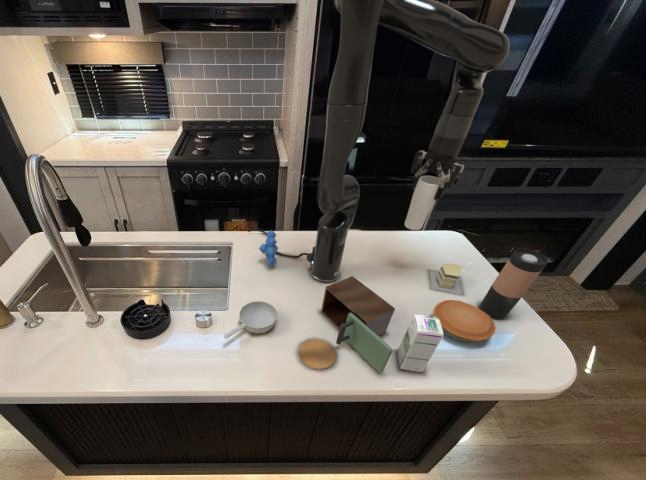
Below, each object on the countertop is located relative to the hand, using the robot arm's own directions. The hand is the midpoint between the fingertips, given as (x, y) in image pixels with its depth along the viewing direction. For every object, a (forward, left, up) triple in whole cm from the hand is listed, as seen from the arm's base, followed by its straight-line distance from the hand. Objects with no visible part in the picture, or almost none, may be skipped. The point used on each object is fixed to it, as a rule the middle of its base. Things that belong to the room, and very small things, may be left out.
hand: (425, 194), depth 92 cm
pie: (+28, -7, -28) cm, 40 cm away
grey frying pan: (-2, -59, -28) cm, 65 cm away
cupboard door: (+21, -40, -27) cm, 53 cm away
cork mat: (+15, -48, -27) cm, 58 cm away
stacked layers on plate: (+13, +8, -28) cm, 32 cm away
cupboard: (+11, -32, -27) cm, 44 cm away
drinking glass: (0, 0, -11) cm, 11 cm away
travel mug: (+29, +8, -28) cm, 41 cm away
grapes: (-27, -37, -28) cm, 53 cm away
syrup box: (+29, -29, -28) cm, 50 cm away
